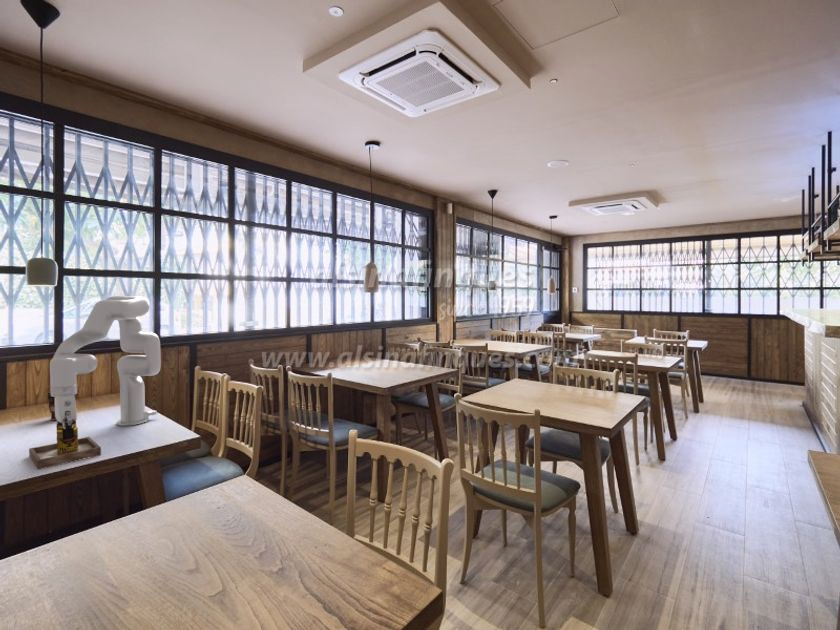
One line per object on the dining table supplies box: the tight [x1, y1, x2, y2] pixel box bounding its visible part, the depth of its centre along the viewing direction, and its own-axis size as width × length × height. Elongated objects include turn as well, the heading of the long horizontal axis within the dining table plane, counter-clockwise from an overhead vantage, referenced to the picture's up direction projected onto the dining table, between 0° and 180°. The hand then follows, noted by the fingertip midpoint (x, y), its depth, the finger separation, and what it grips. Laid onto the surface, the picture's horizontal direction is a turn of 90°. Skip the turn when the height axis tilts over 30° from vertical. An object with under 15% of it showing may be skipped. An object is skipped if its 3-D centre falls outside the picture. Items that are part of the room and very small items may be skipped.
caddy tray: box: [28, 436, 102, 470], centre depth 160 cm, size 18×17×3 cm
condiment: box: [48, 420, 84, 456], centre depth 161 cm, size 7×8×12 cm
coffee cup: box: [47, 392, 57, 421], centre depth 204 cm, size 9×8×13 cm
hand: (65, 435), depth 160 cm, fingers open, 9 cm apart
